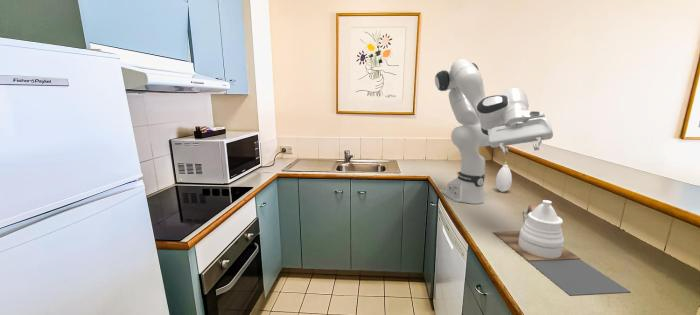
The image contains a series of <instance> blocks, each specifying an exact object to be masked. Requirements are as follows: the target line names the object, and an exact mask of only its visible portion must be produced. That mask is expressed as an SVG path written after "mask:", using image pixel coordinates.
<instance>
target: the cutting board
mask: <svg viewBox="0 0 700 315" xmlns="http://www.w3.org/2000/svg"><path fill="white" fill-rule="evenodd" d="M493 234H494V235H495V236H496V237H497V238H499V239H500V240H502V241H503V243H505V245H507V246H509V248H511V250H513V251H515V252H516V253H517V254H518V255H519V256H521V258H523V259H525V261H527V263H529V261H551V260H574V259H581V257H580V256H578V255H576V254H575V253H573V252H571V251H570V250H569V249H567V248H565V247H564V246H563V250H562V255H561V256H560V257H558V258H544V257H539V256H536V255H533V254H530V253H528V252H526V251H525V250H523V249H522V248H521V247H520V246H519V244H518V241H519V235H520V230H508V231H503V230H502V231H493Z"/></svg>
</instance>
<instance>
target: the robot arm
mask: <svg viewBox="0 0 700 315" xmlns="http://www.w3.org/2000/svg"><path fill="white" fill-rule="evenodd" d="M434 83H435V86H436V89H437V90H438V91H440V92H447V91H448V99H449V104H450V107H451V110H452V112H453V115H454V118H455V119H456V121H457V123H458V124H460V125H459V126H456V127H455V128H453V130H452V132H451V134H450V135H451V136H450V139H451V142H452V143H453V145H454V146H455V147H456V148H457V149H458V151H459V153H460V157H461V159H460V160H461V165H460V166H461V167H460V171H456V175H457V177H456V178H455V179H452V180H451V181H449V182H448V183H447V186H446V189H443V190H441V192H442V194H444V196H447V197H448V198H450V199H451V200H453V201H454V202H458V203H466V204H472V205H473V204H475V205H476V204H478V205H479V204H483V203H485V202H486V201H485V194H484V184H485V183H484V182H485V178H486V176H485V170H486V169H485V168H486V158H485V157H484V156H483V155H482V154H480V152H479V147H489V146H490V147H491V148H500V150H501V151H502V152H503V155H504V156H505V155H508V154H509V149H508V147H506V146H512V145H520V144H525V143H526V144H527V143H533V142H536V143H533V151H540V146H541V145H542V142H543V141H547V140H551V139H552V138H553V137H554V132H553V128H552V125H551V123H550V121H549V119H548V118H546V115H545V113H544V111H543V110H540V111H539V110H529V101H528V100H529V99H528V97H527V95H526V93H525V91H523V90H524V89H521V88H519V87H509V88H506V89H505V90H504V91H503V92H502V93H500V94H496V95H495V94H494V95H490V96H486V92H485V86H484V81H483V78H482V75H481V73H480V70H479V67H478V65H477V64H475V63H474V62H471V61H469V60H468V59H466V58H459V59H456V60H455V61H454V62H453V63H452V64H451V66H450V68H447V69H444V70H443V69H442V70H441V71H438V72H437V73H436V75H435V76H434Z"/></svg>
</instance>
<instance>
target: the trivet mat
mask: <svg viewBox="0 0 700 315" xmlns="http://www.w3.org/2000/svg"><path fill="white" fill-rule="evenodd" d="M528 263H529V264H531V266H533V267H534V268H535V269H537V270H538V271H539V272H540V273H541V274H542V275H543V276H545V277H546V278H547V279H549V280H550V281H551V282H552V283H554V285H556V287H559V288H560V289H561V290H562V291H564V293H566V294H567V295H568V296H571V297H572V296H589V295H591V296H592V295H606V294H607V295H608V294H609V295H610V294H624V293H625V294H626V293H631V291H630V290H629V289H627V288H626V287H624V286H623V285H621V284H620V283H618V282H616V281H615V280H614V279H612V278H610V277H609V276H608V275H605V274H604V273H602V272H601V271H599V270H597V269H596V268H595V267H593V266H592V265H590V264H588V263H587V262H585V261H583V259H581V258H580V259H574V260H551V261H529V262H528Z"/></svg>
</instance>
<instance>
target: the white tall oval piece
mask: <svg viewBox="0 0 700 315" xmlns="http://www.w3.org/2000/svg"><path fill="white" fill-rule="evenodd" d="M512 175H513V174H512V172H511V170H510V167H509V165H507V162H505V163H504V164H503V165H502V167H501V168H500V169H499V170H498V172H497V175H496V177H495V187H496V188H497V190H498V191H499V192H500V193H504V192H506V191H509V189H510V187H511V186H512V182H513V176H512Z"/></svg>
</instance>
